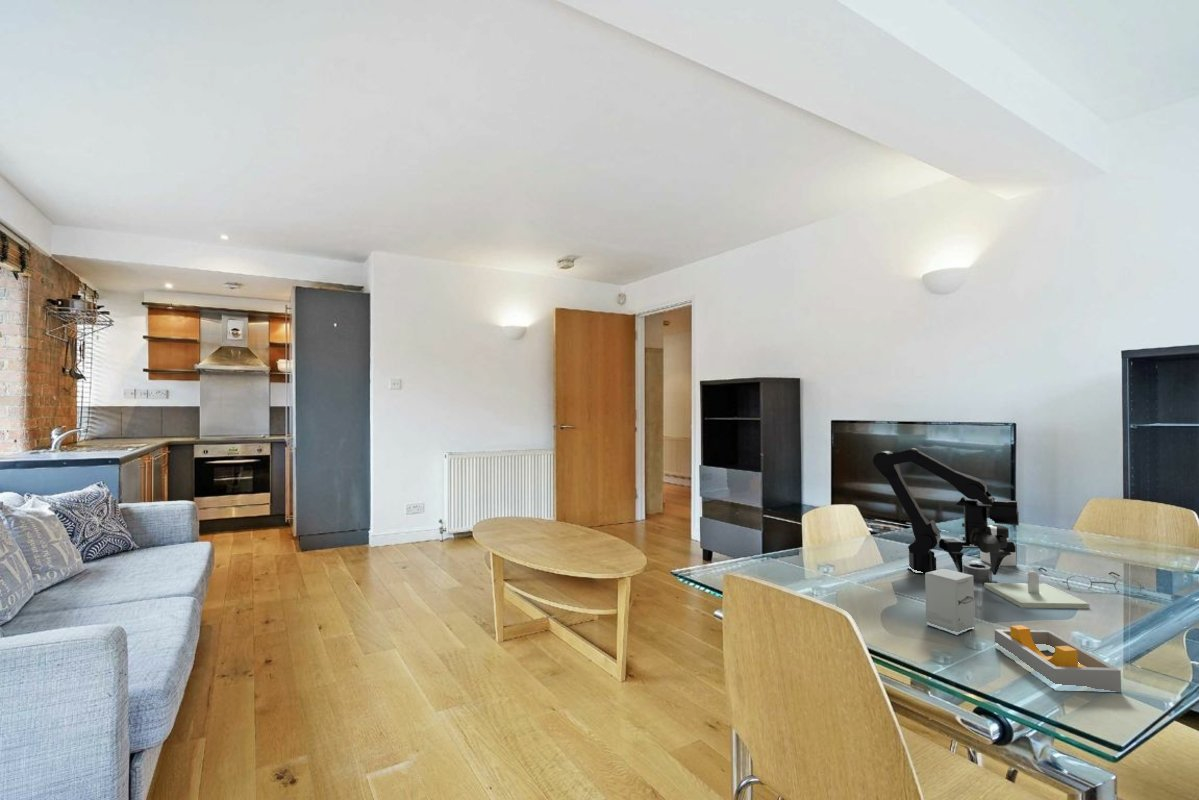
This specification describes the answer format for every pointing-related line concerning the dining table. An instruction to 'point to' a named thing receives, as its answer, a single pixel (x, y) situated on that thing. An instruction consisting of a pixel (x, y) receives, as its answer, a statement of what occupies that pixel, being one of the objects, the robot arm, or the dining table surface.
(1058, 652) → the pipe clamp
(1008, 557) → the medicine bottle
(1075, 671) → the parts frame
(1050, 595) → the post board
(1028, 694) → the dining table surface
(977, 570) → the hub ring
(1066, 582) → the eyeglasses
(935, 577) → the supplement box
